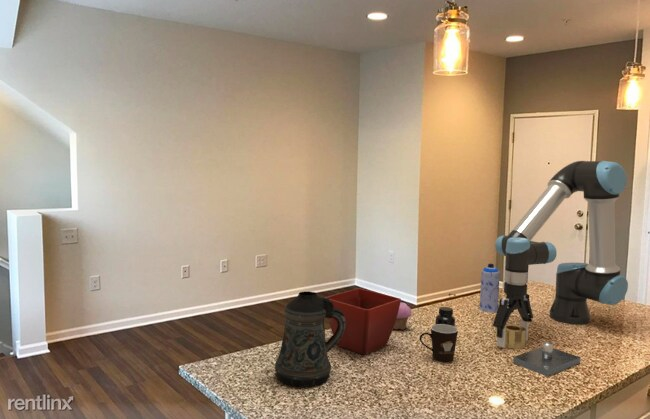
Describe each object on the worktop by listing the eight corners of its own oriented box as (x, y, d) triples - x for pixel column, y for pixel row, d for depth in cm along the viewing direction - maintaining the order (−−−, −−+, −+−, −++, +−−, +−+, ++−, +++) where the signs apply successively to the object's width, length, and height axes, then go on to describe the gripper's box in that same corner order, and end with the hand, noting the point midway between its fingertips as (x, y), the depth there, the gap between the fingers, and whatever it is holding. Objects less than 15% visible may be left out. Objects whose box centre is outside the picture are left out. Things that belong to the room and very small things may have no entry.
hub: (509, 338, 184) (510, 322, 183) (529, 345, 178) (530, 329, 177) (495, 343, 179) (496, 326, 179) (515, 350, 173) (516, 333, 172)
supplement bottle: (450, 346, 176) (452, 312, 174) (431, 342, 179) (433, 309, 178) (456, 340, 181) (458, 307, 180) (438, 337, 185) (439, 304, 184)
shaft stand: (545, 351, 173) (546, 332, 172) (580, 363, 163) (581, 343, 162) (513, 362, 162) (514, 343, 162) (548, 376, 153) (549, 355, 152)
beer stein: (266, 371, 153) (266, 289, 151) (322, 359, 163) (323, 282, 160) (289, 393, 139) (290, 304, 136) (350, 379, 148) (352, 295, 146)
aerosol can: (500, 312, 216) (503, 266, 214) (482, 312, 216) (484, 265, 214) (494, 307, 224) (497, 262, 222) (476, 306, 224) (479, 261, 222)
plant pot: (400, 345, 176) (402, 298, 174) (366, 361, 162) (367, 309, 160) (358, 332, 189) (359, 287, 187) (322, 345, 175) (323, 297, 173)
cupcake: (409, 325, 197) (410, 300, 196) (411, 333, 189) (412, 306, 188) (386, 324, 198) (387, 299, 197) (387, 331, 190) (388, 305, 189)
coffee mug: (457, 355, 168) (459, 326, 167) (455, 365, 160) (456, 334, 159) (422, 350, 171) (423, 321, 170) (418, 360, 163) (419, 329, 162)
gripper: (526, 276, 186) (523, 333, 189) (484, 284, 172) (480, 346, 174) (546, 280, 180) (542, 339, 182) (503, 289, 166) (499, 353, 168)
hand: (512, 342), depth 178 cm, fingers open, 12 cm apart
